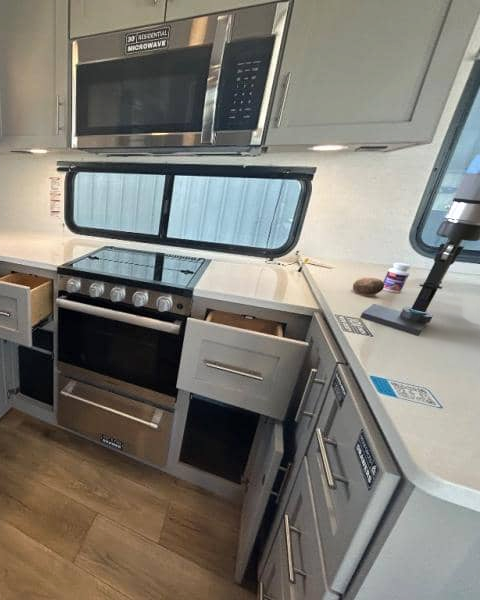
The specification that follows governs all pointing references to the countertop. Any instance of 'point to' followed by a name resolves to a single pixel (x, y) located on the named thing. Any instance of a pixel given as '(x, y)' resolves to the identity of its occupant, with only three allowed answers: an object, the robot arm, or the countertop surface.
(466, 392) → the countertop surface
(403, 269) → the pill bottle
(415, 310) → the tare button
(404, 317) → the scale
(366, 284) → the brown oval lump
